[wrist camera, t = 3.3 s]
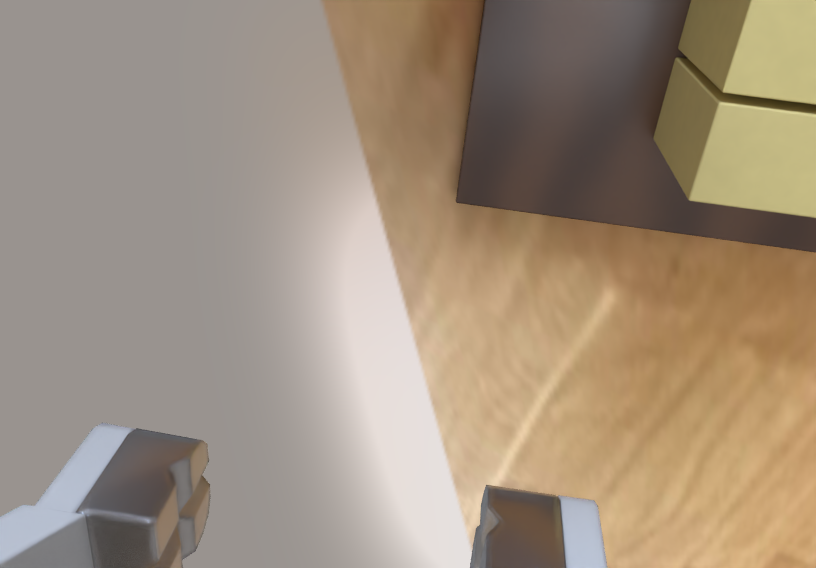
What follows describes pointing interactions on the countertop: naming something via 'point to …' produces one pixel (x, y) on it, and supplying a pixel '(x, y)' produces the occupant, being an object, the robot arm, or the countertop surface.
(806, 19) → the butter block
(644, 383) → the countertop surface
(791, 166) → the butter slice
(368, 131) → the countertop surface
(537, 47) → the butter board
